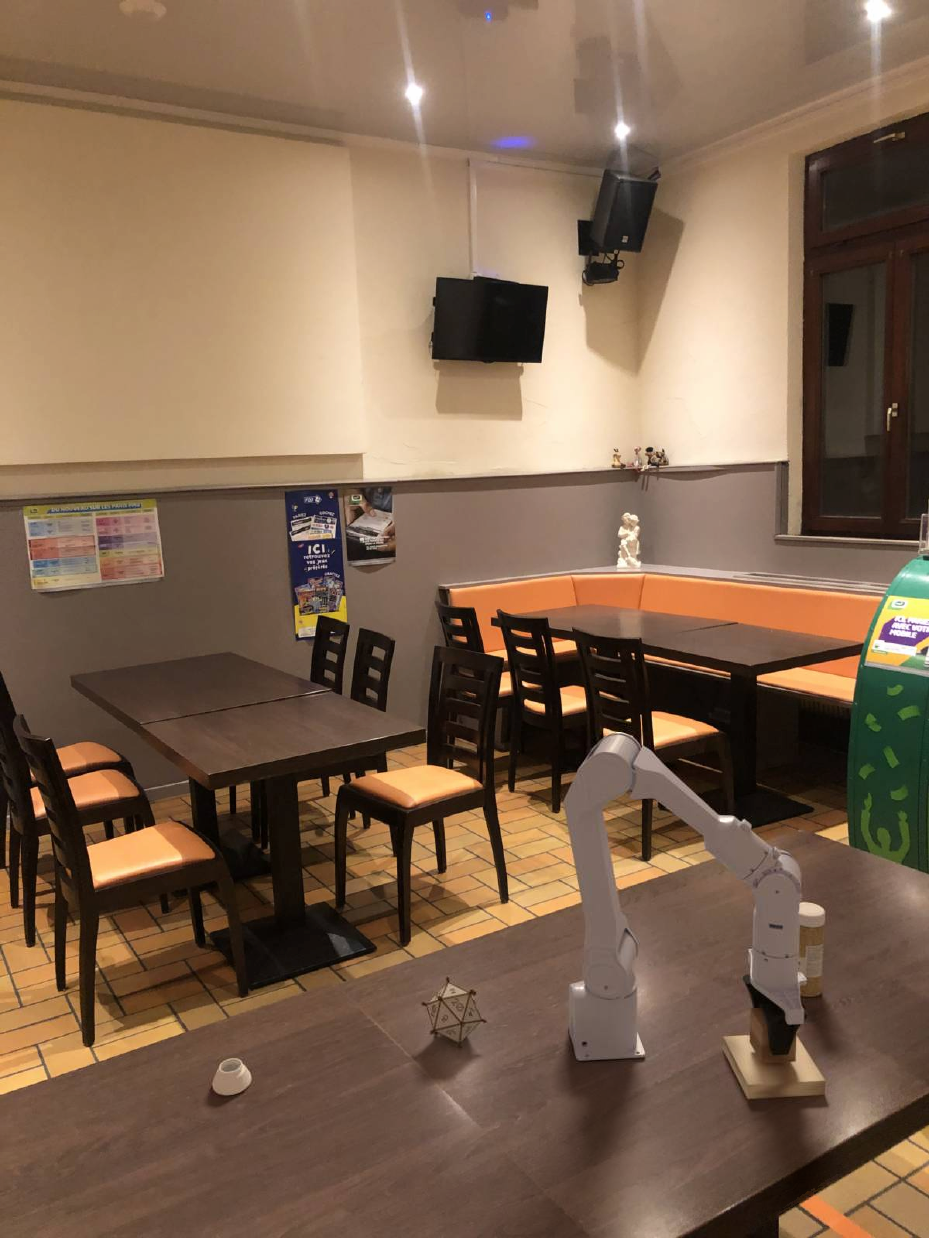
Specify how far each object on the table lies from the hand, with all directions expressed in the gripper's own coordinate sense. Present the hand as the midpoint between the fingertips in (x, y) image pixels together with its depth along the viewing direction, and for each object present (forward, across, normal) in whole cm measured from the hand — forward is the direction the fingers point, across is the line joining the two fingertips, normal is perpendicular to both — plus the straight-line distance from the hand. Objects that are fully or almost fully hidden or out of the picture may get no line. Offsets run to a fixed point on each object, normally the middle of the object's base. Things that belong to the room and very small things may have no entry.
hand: (772, 1041), depth 123 cm
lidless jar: (+5, +4, +72) cm, 72 cm away
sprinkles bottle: (+5, +18, -12) cm, 22 cm away
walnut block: (+2, 0, 0) cm, 2 cm away
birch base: (+4, 0, 0) cm, 4 cm away
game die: (+5, +11, +42) cm, 44 cm away
